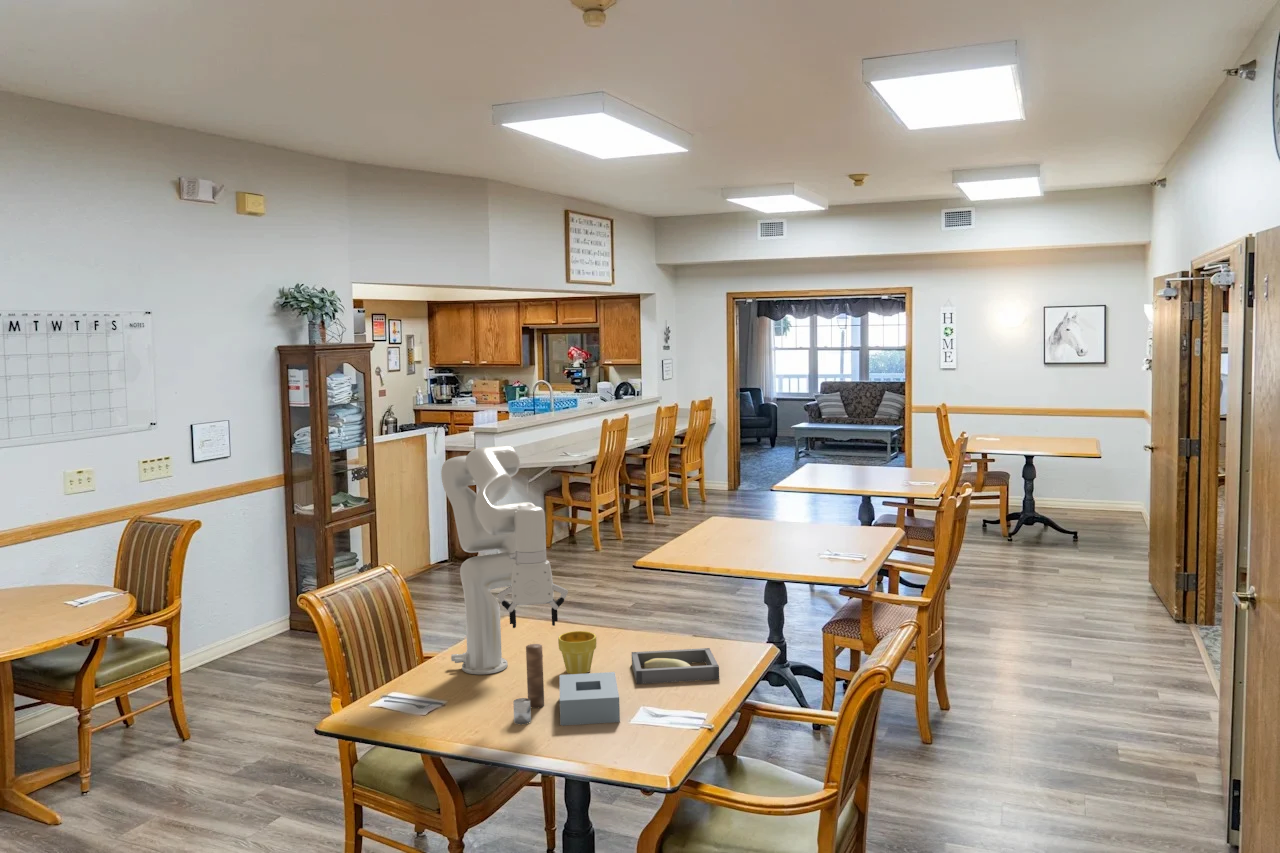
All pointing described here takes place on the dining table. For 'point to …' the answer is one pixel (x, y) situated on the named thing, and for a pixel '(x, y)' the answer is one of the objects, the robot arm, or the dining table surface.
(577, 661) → the plant pot
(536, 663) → the long walnut pin
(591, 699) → the hole block
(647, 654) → the tray
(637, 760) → the dining table surface
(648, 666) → the fruit
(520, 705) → the short steel pin
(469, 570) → the robot arm
